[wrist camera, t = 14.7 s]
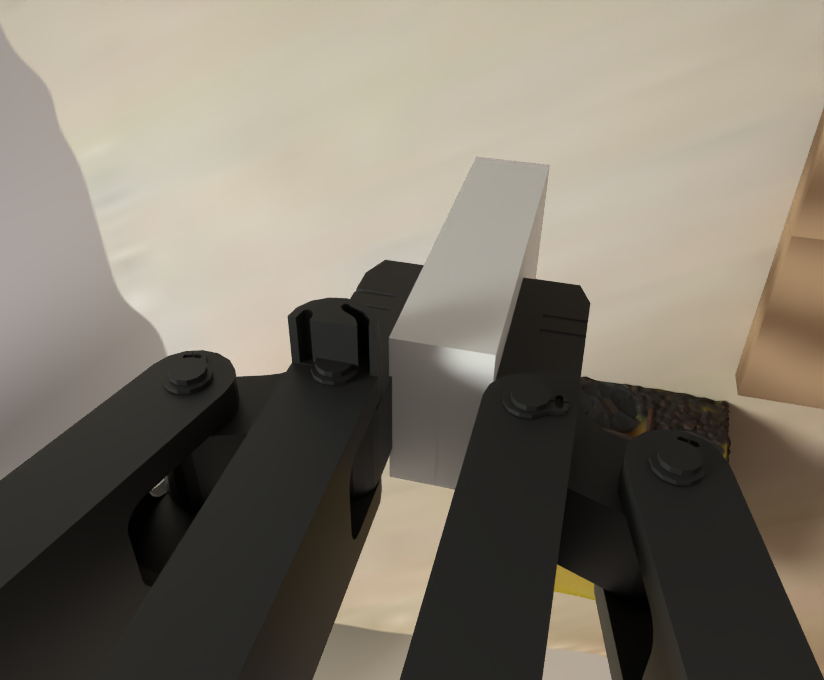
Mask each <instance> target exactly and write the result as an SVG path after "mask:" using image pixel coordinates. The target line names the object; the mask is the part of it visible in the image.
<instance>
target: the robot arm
mask: <svg viewBox="0 0 824 680" xmlns="http://www.w3.org/2000/svg"><path fill="white" fill-rule="evenodd" d="M549 166H550V165H544V164H535V163H527V162H518V161H509V160H500V159H491V158H482V157H476V159H475V161H474V163H473V165H472V167H471V169H470V171H469V173H468V175H467V177H466V179H465V181H464V184H463V186H462V188H461V190H460V192H459V194H458V196H457V198H456V200H455V202H454V204H453V206H452V208H451V210H450V212H449V215H448V217H447V219H446V221H445V223H444V225H443V227H442V229H441V231H440V233H439V235H438V237H437V239H436V241H435V243H434V246H433V248H432V250H431V252H430V254H429V256H428V258H427V260H426V262H425V264H424V265H418V264H411V263H404V262H397V261H389V260H384V261H383V262H381V263H380V264H378V265H377V266H375V267H374V268H372V269H371V270H369V271H368V272H366V274H365V275H364V277H363V279H362V280H361V282H360V284H359V285H358V287H357V290H356V292H354V294H353V295H352V297H351V299H347V298H325V299H319V300H313V301H310V302H308V303H306V304H304V305H301V306H299V307H297V308H296V309H295V310H294V311H293V312H292V313H291V314H289V315H288V325H289V334H290V344H291V354H292V364H291V365H290V367H289V368H288V370H287V372H284V373H281V374H273V375H263V376H243V377H236V373H235V369H234V367H233V365H232V363H231V362H230V360H228V359H227V358H225V357H223V356H222V355H220V354H218V353H213V352H209V351H204V350H201V351H185V352H181V353H178V354H174V355H170V356H168V357H166V358H164V359H162V360H160V361H159V362H157V363H155V364H153V365H152V366H151V367H149V368H148V369H147V370H146V371H144V372H143V373H142V374H140V375H139V376H138V377H136V378H135V379H134V380H132V381H131V382H130V383H128V384H127V385H126V386H124V387H123V388H122V389H120V390H119V391H118V392H117V393H115V394H114V395H113V396H111V397H110V398H109V399H107V400H106V401H105V402H103V403H102V404H101V405H99V406H98V407H97V408H95V409H94V410H93V411H91V412H90V413H89V414H87V415H86V416H85V417H83V418H82V419H81V420H80V421H78V422H77V423H76V424H74V425H73V426H72V427H70V428H69V429H68V430H66V431H65V432H64V433H63V434H61V435H60V436H58V437H57V438H56V439H54V440H53V441H52V442H51V443H49V444H48V445H46V446H45V447H44V448H43V449H41V450H40V451H39V452H37V453H36V454H35V455H33V456H32V457H31V458H29V459H28V460H27V461H25V462H24V463H23V464H21V465H20V466H19V467H18V468H16V469H15V470H13V471H12V472H11V473H10V474H8V475H7V476H6V477H4V478H3V479H2V480H0V680H312V679H313V676H314V674H315V672H316V669H317V666H318V664H319V661H320V658H321V656H322V653H323V651H324V648H325V645H326V643H327V640H328V637H329V634H330V632H331V630H332V627H333V624H334V622H335V619H336V617H337V614H338V611H339V609H340V606H341V603H342V601H343V598H344V596H345V593H346V590H347V588H348V585H349V582H350V580H351V577H352V575H353V572H354V569H355V567H356V564H357V561H358V559H359V556H360V554H361V551H362V548H363V546H364V543H365V541H366V538H367V535H368V533H369V530H370V527H371V525H372V522H373V520H374V517H375V514H376V512H377V509H378V506H379V504H380V500H381V491H382V485H381V475H382V473H383V470H384V468H385V465H386V462H387V460H388V457H389V455H390V477H395V478H400V479H405V480H410V481H415V482H420V483H425V484H430V485H435V486H440V487H445V488H450V489H455V492H454V495H453V499H452V502H451V506H450V509H449V513H448V516H447V519H446V523H445V526H444V530H443V533H442V537H441V540H440V543H439V547H438V550H437V554H436V557H435V561H434V564H433V568H432V571H431V574H430V578H429V581H428V585H427V588H426V592H425V595H424V599H423V602H422V605H421V609H420V612H419V616H418V619H417V623H416V626H415V629H414V633H413V636H412V640H411V643H410V647H409V650H408V654H407V657H406V661H405V664H404V667H403V671H402V674H401V678H400V680H542V676H543V667H544V661H545V653H546V646H547V638H548V631H549V623H550V615H551V608H552V600H553V593H554V585H555V578H556V570H557V565H559V566H561V567H563V568H565V569H567V570H569V571H571V572H572V573H574V574H576V575H578V576H580V577H582V578H584V579H586V580H588V581H590V582H592V583H594V594H595V599H596V604H597V609H598V614H599V619H600V624H601V629H602V633H603V638H604V643H605V648H606V653H607V658H608V662H609V668H610V673H611V677H612V680H824V678H823V676H822V673H821V671H820V669H819V667H818V664H817V662H816V660H815V658H814V655H813V653H812V651H811V648H810V646H809V644H808V642H807V639H806V637H805V635H804V633H803V630H802V628H801V626H800V623H799V621H798V619H797V617H796V614H795V612H794V610H793V608H792V605H791V603H790V601H789V598H788V596H787V594H786V592H785V589H784V587H783V585H782V583H781V580H780V578H779V576H778V573H777V571H776V569H775V567H774V564H773V562H772V560H771V558H770V555H769V553H768V551H767V548H766V546H765V544H764V542H763V539H762V537H761V535H760V533H759V530H758V528H757V526H756V523H755V521H754V519H753V517H752V514H751V512H750V510H749V508H748V505H747V503H746V501H745V498H744V496H743V494H742V492H741V489H740V487H739V485H738V483H737V480H736V478H735V476H734V473H733V471H732V469H731V467H730V465H729V463H728V462H727V461H726V459H725V458H724V456H723V455H722V454H721V452H720V451H719V450H717V449H716V448H715V447H713V446H712V445H711V444H709V443H708V442H707V441H705V440H704V439H701V438H699V437H696V436H694V435H691V434H689V433H687V432H683V431H676V430H669V429H659V430H651V431H646V432H644V433H642V434H640V435H638V436H636V437H634V438H633V439H632V440H631V442H630V441H628V440H626V439H623V438H621V437H618V436H616V435H614V434H612V433H610V432H608V431H606V430H604V429H602V428H601V427H600V426H598V425H597V424H596V423H594V422H593V421H592V420H591V419H590V418H589V417H588V416H587V414H586V413H585V412H584V411H583V409H582V406H581V404H580V402H579V385H580V377H581V370H582V362H583V354H584V347H585V338H586V332H587V323H588V316H589V309H590V302H589V300H588V298H587V297H586V295H585V293H584V291H583V290H582V288H581V286H580V285H573V284H566V283H559V282H552V281H545V280H538V279H535V278H536V270H537V262H538V254H539V246H540V238H541V230H542V222H543V214H544V206H545V198H546V190H547V182H548V174H549ZM163 479H165V480H164V481H163V482H162V483H161V484H160V485H159V486H158V487H156V488H154V487H155V486H156V485H157V484H158V483H160V482H161V481H162V480H163ZM153 488H154V489H153ZM152 489H153V490H152Z"/></svg>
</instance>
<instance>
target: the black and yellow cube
mask: <svg viewBox="0 0 824 680" xmlns="http://www.w3.org/2000/svg"><path fill="white" fill-rule="evenodd" d="M579 402H580V404H581V406H582V409H583V411H584V412H585V413H586V414H587V416H588V417H589V418H590V419H591V420H592V421H593V422H594V423H596V424H597V425H598V426H600V427H601V428H602V429H604V430H606V431H608V432H610V433H612V434H614V435H616V436H618V437H621V438H623V439H626V440H628V441H630V442H631V440H632V439H633V438H634V437H636V436H638V435H640V434H642V433H644V432H646V431H651V430H659V429H669V430H676V431H683V432H687V433H689V434H691V435H694V436H696V437H699V438H701V439H704V440H705V441H707V442H708V443H709V444H711V445H712V446H713V447H715V448H716V449H717V450H719V451H720V452H721V454H722V455H723V456H724V458H725V459H726V461H727V462H728V463H729V457H728V455H729V454H730V453H731V452H730V449H729V447H730V445H731V441H730V438H729V436H728V431H729V430H728V428H729V422H728V421H729V417H728V413H729V410H728V407H729V406H728V404H726V403H725V402H724V401H717V402H713V401H712V400H709V399H705V398H694V397H692V396H689V395H687V394H680V393H671V392H666V391H662V390H658V389H645V388H641V387H640V386H629V385H625V384H621V385H620V384H613V383H605V382H600V381H595V380H591V379H589V378H586V377H580V385H579ZM554 591H555V592H560V593H565V594H570V595H575V596H580V597H584V598H588V599H592V600H596V599H595V594H594V583H592V582H590V581H588V580H586V579H584V578H582V577H580V576H578V575H576V574H574V573H572V572H571V571H569V570H567V569H565V568H563V567H561V566H559V565H557V570H556V578H555V585H554Z"/></svg>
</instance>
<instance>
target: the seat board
mask: <svg viewBox="0 0 824 680" xmlns="http://www.w3.org/2000/svg"><path fill="white" fill-rule="evenodd" d="M736 383H737V390H738V395H741V396H747V397H753V398H759V399H766V400H772V401H778V402H784V403H790V404H796V405H802V406H809V407H815V408H821V409H824V109H823V112H822V115H821V118H820V121H819V124H818V127H817V130H816V133H815V136H814V139H813V142H812V145H811V148H810V151H809V155H808V158H807V161H806V164H805V167H804V170H803V173H802V176H801V179H800V182H799V185H798V188H797V191H796V194H795V197H794V200H793V203H792V206H791V209H790V212H789V215H788V218H787V221H786V224H785V227H784V230H783V233H782V236H781V239H780V242H779V245H778V248H777V251H776V254H775V257H774V260H773V263H772V266H771V269H770V272H769V275H768V278H767V281H766V284H765V287H764V290H763V293H762V296H761V299H760V302H759V305H758V308H757V311H756V314H755V317H754V320H753V323H752V326H751V329H750V332H749V336H748V339H747V342H746V345H745V348H744V351H743V354H742V357H741V360H740V363H739V366H738V369H737V372H736Z"/></svg>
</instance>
